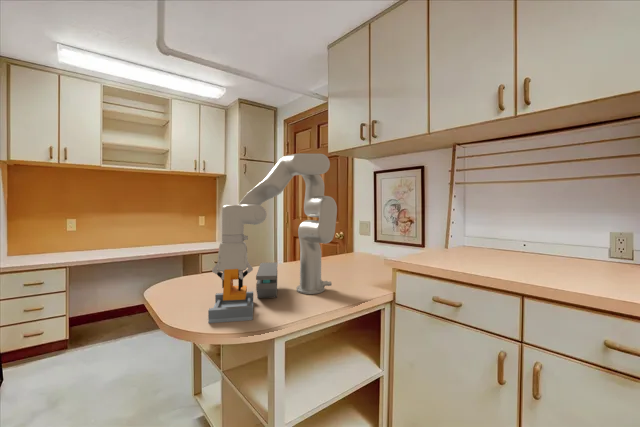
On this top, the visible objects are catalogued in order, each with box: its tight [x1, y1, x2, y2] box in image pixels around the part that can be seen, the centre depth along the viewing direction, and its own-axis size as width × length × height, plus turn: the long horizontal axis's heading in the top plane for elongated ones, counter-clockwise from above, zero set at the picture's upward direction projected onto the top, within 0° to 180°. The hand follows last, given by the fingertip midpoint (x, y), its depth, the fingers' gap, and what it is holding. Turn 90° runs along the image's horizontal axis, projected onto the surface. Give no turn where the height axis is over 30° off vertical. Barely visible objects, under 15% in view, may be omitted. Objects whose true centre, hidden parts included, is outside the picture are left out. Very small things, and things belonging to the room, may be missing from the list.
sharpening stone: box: [255, 262, 278, 299], centre depth 127 cm, size 25×8×11 cm, turn 7°
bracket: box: [222, 269, 248, 301], centre depth 105 cm, size 11×7×12 cm, turn 10°
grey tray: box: [207, 290, 254, 324], centre depth 105 cm, size 14×18×4 cm
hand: (232, 289), depth 105 cm, fingers closed on bracket, 4 cm apart
